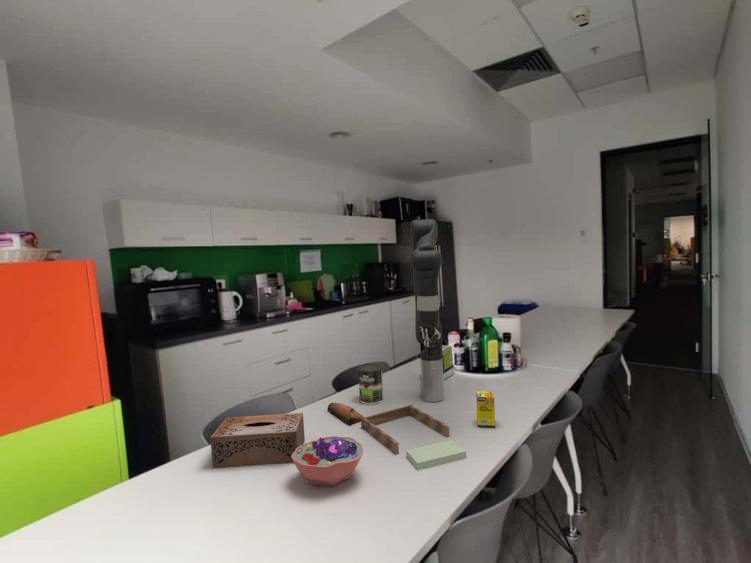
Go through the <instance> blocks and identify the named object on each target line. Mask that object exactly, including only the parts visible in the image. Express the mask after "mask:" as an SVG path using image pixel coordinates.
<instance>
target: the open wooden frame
mask: <svg viewBox="0 0 751 563" xmlns="http://www.w3.org/2000/svg"><path fill="white" fill-rule="evenodd" d="M409 416H411V417H413V418H415V419H416V420H418V421H419V422H421V423H422V424H424V425H426V426H428V427H429V428H430V429H432V430H434V431H436V432H438V433H439V434H441V435H443V436H444V437H445V438H449V437H450V426H449V425H448V424H445V423H444V422H442V421H441V420H439V419H437V418H435V417H433V416H431V415H430V414H428V413H426V412H425V411H423V410H420V409H419V408H417V407H415V406H414V405H413V404H410V405H406V406H402V407H399V408H398V407H397V408H395V409H391V410H387V411H384V412H380V413H376V414H372V415H368V416H366V417H365V416H364V417H365V418H361V422H360V427H361V429H362V430H365V431H366V432H368V433H369V434H370V435H371V436H373V437H374V438H375V439H376V440H377V441H379V442H380V443H381V444H382V445H384V446H385V447H386V448H388V450H390V451H391V452H393V454H395V455H398V454H400V451H399V441H397V440H396V439H395V438H393V437H392V436H390V435H389V434H388V433H386V432H385V431H384V430H382V429H381V428H379V425H380V424H385V423H387V422H391V421H395V420H398V419H402V418H406V417H409Z"/></svg>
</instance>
